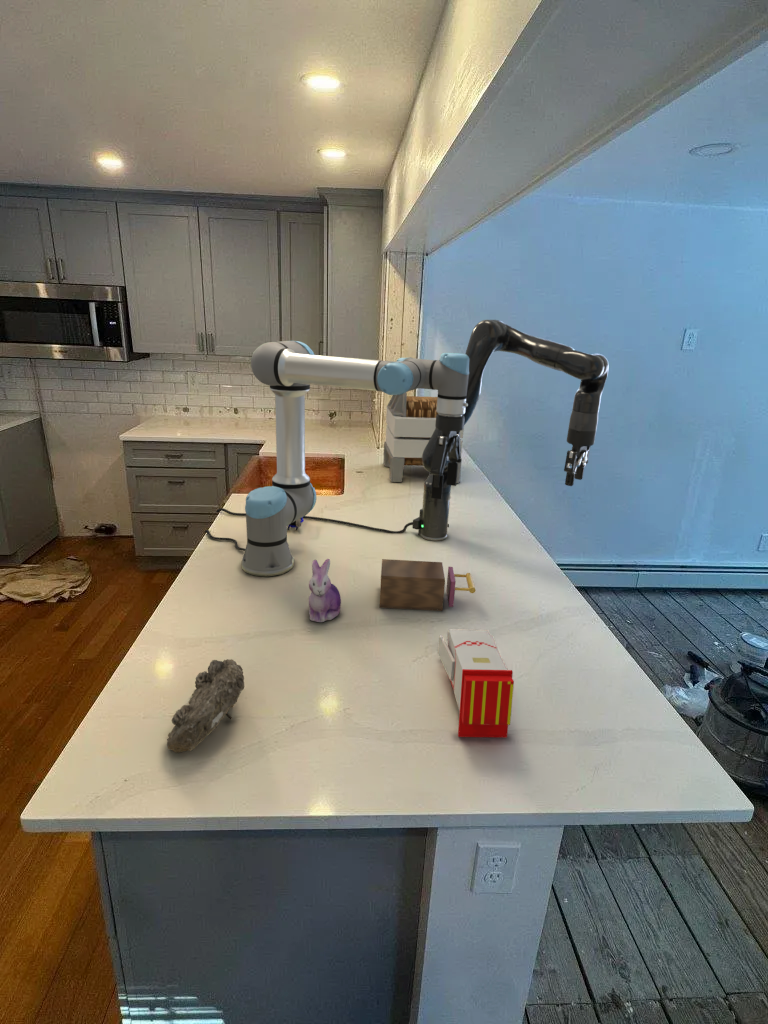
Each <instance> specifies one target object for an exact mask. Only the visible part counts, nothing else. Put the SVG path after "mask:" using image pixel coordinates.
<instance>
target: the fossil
mask: <svg viewBox="0 0 768 1024" xmlns="http://www.w3.org/2000/svg"><path fill="white" fill-rule="evenodd" d="M243 670H244V669H243V667H242V665H240V664H237V662H236V661H235V660H234V659H232V658H231V659H227V658H226V659H224V660H223V661H222V660H217V659H212V660H211V661H210V663H209V665H208V666H207V671H201V672H199V673H198V674H197V675H196V676H195V680H194V684H195V685H194V687H195V689H194V690H193V693H192V694H191V697H190V698H189V700H188V704H184V705H182V706H181V707H180V709H177V710H176V711H175V713H174V715H173V716H172V718H171V723H172V724H173V727H172V730H171V731H170V732H168V734H167V738H166V741H167V742H166V745H167V749H168V750H169V751H173V752H174V753H176V754H178V753H182V752H188V751H189V752H192V751H193V750H195V748H196V747H197V746H199V744H200V743H201V742H203V741H204V740H205V739H206V738H207V737H208V736H209V735H210V734H211V733H212V732H214V730H215V729H217V727H218V726H219V724H220V722H221V721H222V720H223V719H224V718H225V716H226V717H227V719H229V720H233V717H232V715H230V714H229V710H230V709H231V708H234V706H235V704H236V703H237V702H238V699H239V697H240V695H241V693H242V691H243V690H245V689H244V688H245V675H244V671H243Z"/></svg>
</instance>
